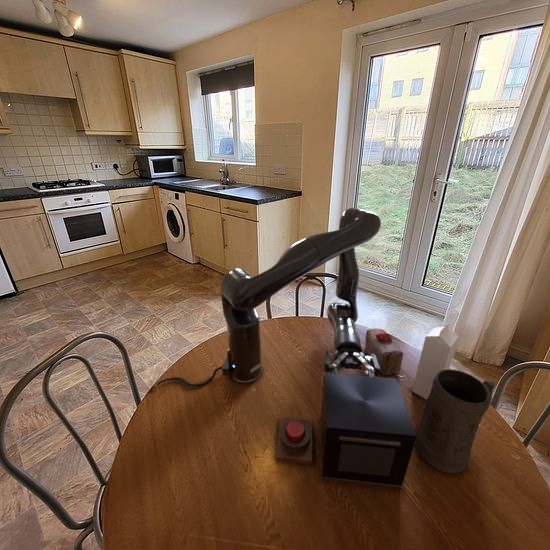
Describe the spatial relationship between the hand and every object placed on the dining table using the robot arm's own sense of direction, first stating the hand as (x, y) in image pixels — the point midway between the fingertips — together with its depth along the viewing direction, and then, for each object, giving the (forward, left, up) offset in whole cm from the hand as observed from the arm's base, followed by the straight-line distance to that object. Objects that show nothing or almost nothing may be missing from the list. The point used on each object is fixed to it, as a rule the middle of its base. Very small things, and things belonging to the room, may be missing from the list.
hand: (353, 383), depth 73 cm
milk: (+22, +9, -10) cm, 26 cm away
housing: (-14, -10, -9) cm, 20 cm away
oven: (0, -11, -9) cm, 15 cm away
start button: (-14, -10, -7) cm, 19 cm away
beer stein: (+21, -7, -10) cm, 24 cm away
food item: (+12, +21, -10) cm, 26 cm away
